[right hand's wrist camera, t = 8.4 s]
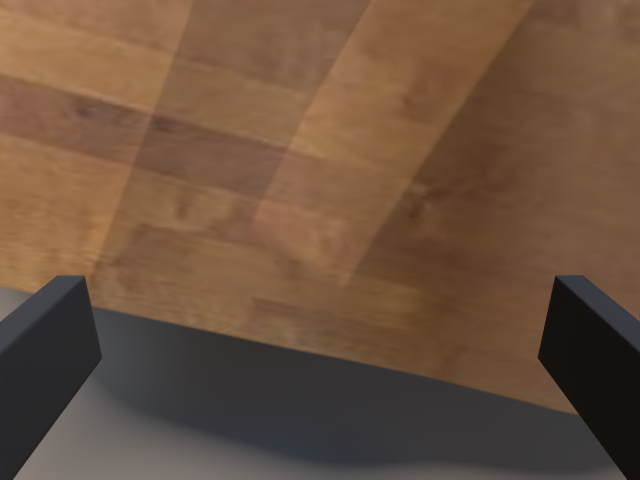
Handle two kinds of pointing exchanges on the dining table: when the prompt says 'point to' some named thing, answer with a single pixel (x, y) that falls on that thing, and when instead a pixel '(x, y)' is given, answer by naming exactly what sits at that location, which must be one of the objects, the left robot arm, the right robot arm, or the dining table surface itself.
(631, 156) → the dining table surface
